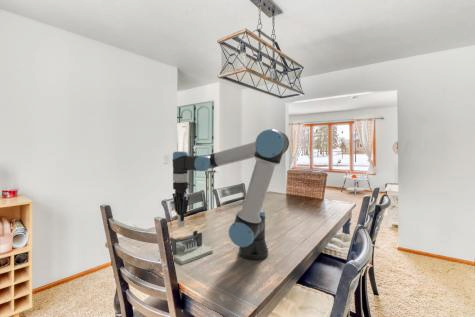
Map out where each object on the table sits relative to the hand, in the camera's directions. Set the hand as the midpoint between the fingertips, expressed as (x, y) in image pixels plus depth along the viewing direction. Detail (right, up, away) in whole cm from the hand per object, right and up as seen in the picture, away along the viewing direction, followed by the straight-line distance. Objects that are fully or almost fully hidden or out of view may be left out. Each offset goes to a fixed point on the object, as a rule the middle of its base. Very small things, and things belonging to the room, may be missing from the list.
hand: (181, 226), depth 124 cm
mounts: (+2, -12, +2) cm, 12 cm away
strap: (+3, -8, +2) cm, 9 cm away
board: (+2, -14, +2) cm, 14 cm away
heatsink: (+2, -12, +2) cm, 13 cm away
